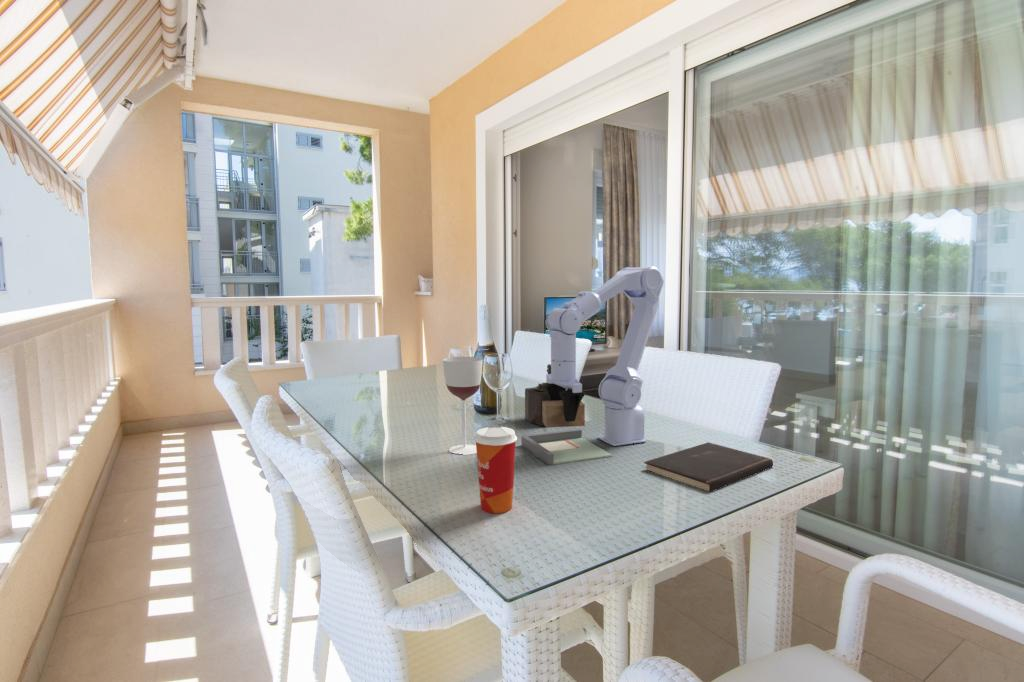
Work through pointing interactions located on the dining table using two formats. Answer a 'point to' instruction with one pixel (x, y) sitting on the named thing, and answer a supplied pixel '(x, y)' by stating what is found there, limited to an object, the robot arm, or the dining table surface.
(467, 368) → the wineglass
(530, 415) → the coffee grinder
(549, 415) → the walnut block
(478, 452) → the paper cup
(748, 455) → the hardcover book
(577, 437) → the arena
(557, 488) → the dining table surface
